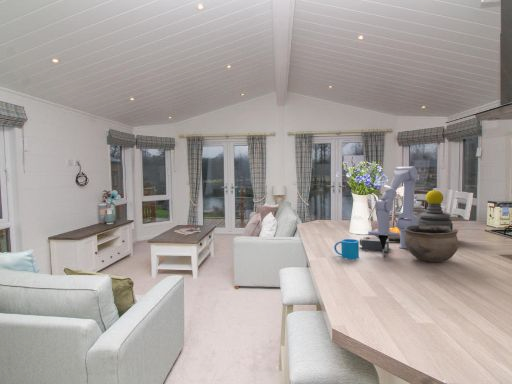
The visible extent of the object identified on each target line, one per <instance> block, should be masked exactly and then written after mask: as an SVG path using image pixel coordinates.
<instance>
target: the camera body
mask: <svg viewBox="0 0 512 384" xmlns="http://www.w3.org/2000/svg"><path fill="white" fill-rule="evenodd" d="M386 244H388V251H389V250H390V239H389V238H387V240H386V243H385V245H386ZM359 246H361V250H366V249H368V250H369V251H379V252H380V251H381V252H383V250H382V244H381V242H380V240H379V237H370V236H366V237H363V238H360V239H359Z"/></svg>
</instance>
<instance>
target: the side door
mask: <svg viewBox="0 0 512 384" xmlns="http://www.w3.org/2000/svg"><path fill="white" fill-rule="evenodd" d="M388 252H389V250H388V244H386V245H385V247H384V248H383V251H382V257H385V255H386V254H387V253H388Z"/></svg>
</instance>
